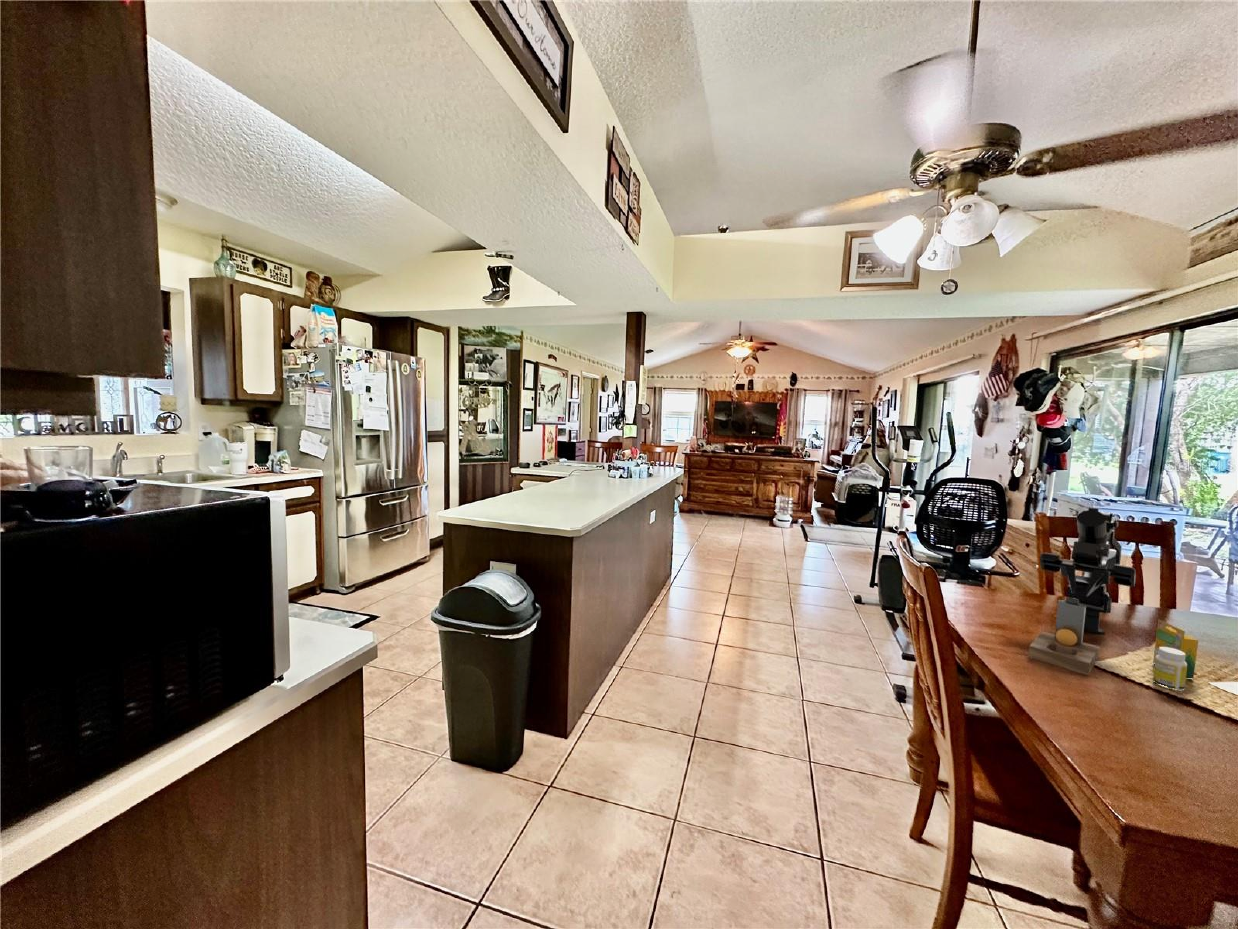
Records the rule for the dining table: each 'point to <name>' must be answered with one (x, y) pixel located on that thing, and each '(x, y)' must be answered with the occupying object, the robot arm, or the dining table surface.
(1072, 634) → the ball
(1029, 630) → the dining table surface
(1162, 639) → the crayon box
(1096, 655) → the board
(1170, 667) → the supplement bottle
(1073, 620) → the grey piece
